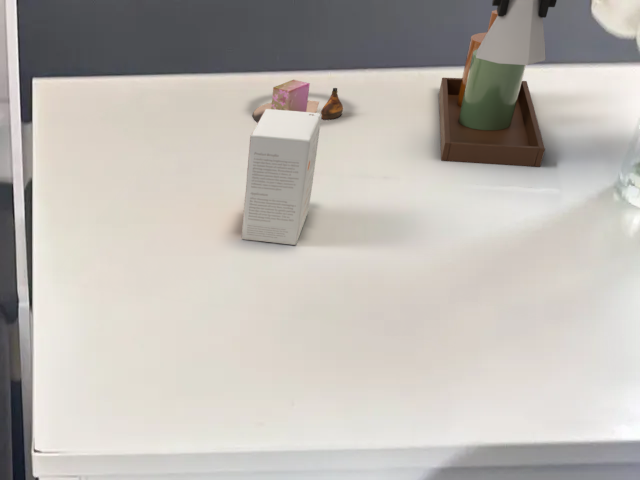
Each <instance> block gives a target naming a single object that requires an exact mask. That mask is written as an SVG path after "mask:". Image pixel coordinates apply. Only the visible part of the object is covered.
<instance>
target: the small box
mask: <svg viewBox="0 0 640 480" xmlns="http://www.w3.org/2000/svg"><path fill="white" fill-rule="evenodd" d="M321 122H322V114H321V112H316V113H312V112H300V111H287V110H275V109H265V111H264V113H263V114H262V116H261V118H260V120H259V122H257V123H256V124H255V125H256V126H255V127H254V129H253V131H252V132H251V134H250V135H249V136H250V137H249V147H248V159H247V171H246V182H245V183H246V184H245V193H244V203H243V219H242V228H241V239H242V240H246V241H255V242H256V241H257V242H267V243H274V244H283V245H292V246H296V245H298V241H299V238H300V236H301V233H302V230H303V227H304V225H305V222H306V219H307V216H308V215H309V211H310V202H311V197H312V190H313V183H314V182H313V181H314V175H315V167H316V161H317V154H318V153H317V152H318V146H319V138H320V132H321V131H320V130H321V124H322V123H321Z"/></svg>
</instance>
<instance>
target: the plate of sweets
mask: <svg viewBox="0 0 640 480" xmlns="http://www.w3.org/2000/svg"><path fill="white" fill-rule="evenodd" d="M310 85H311V83H310V82H307V81H301V80H297V79H292V80H289V81H286V82H284V83H281V84H278V85H275V86H273V88H272V97H271V102H269V103H265V104H262V105H260V106H258V107H257V108H255V109H254V111H253V112H252V115H251V116H252V118H253V120H254V121H255V122H256V123H258V122H259V120H260V118H261V116H262V114H263V113H264V111H265V109H275V110H287V111H300V112H312V113H318V112H317V111H318V109H319V104H320V101H318V100H309V91H310ZM343 111H344V106H343V103H342V102H341V100H340V98H339V95H338V87H333V88H332V91H331V94H330V97H329V98H328V100H327V102H326V103H325V104H324V105H323V107H322V109H321V111H320V113H321V114H322V117H321V120H322V119H323V120H334V119H338V118H339V117H340V116H341V115H342V114H343Z"/></svg>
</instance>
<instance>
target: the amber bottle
mask: <svg viewBox="0 0 640 480" xmlns="http://www.w3.org/2000/svg"><path fill="white" fill-rule="evenodd" d="M497 16H498V13H497V9H494V10H491V12H490V18H489V22H488V26H487V29H486V30H487V31H486V32H478V33H475V34H473V35H471V36H470V38H469V39H470V40H469V44H468V50H467V54H466V59H465V62H464V68H463V72H462V76H461V78H462V81H461V86H460V90H459V95H458V99H457V105H458V106H460V107H461V105H462V100H463V96H464V91H465V87H466V82H467V78H468V73H469V68H470V64H471V59H472V55H473V52H474V51H475V50H477V49H478V48H479V46H480V45H481V43H482V41H483V39H484V38H485V36H486V34H487V33H488V31H489V29H490V28H491V26H492V24H493V23H494V21H495V19H496V18H497Z"/></svg>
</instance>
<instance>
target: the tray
mask: <svg viewBox="0 0 640 480" xmlns="http://www.w3.org/2000/svg"><path fill="white" fill-rule="evenodd" d="M461 81H462V77H441V81H440V87H439V92H438V104H439V133H440V136H439V139H440V160H441V162H453V163H468V164H481V165H482V164H483V165H484V164H485V165H499V166H516V167H529V168H540V167H541V165H542V162H543V158H544V154H545V151H546V146H545V143H544V139H543V137H542V132H541V129H540V125H539V122H538V118H537V114H536V110H535V107H534V102H533V99H532V96H531V92H530V88H529V85H528V81H527V80H522V83H521V87H520V91H519V95H518V99H517V103H516V107H515V111H514V115H513V119H512V123H511V125H510V127H508V128H506V129H502V130H477V129H472V128H468V127H465V126H463V125H461V124H460V123H459V122H458V119H459V114H460V109H461V107H460V106H458V105H457V99H458V95H459V90H460V86H461Z"/></svg>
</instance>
